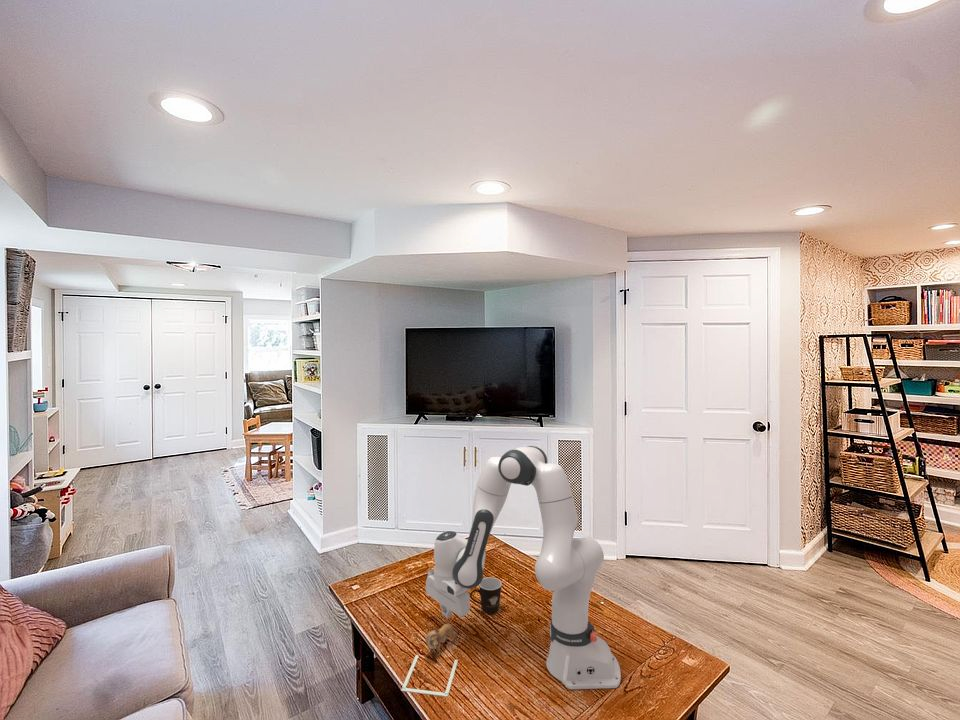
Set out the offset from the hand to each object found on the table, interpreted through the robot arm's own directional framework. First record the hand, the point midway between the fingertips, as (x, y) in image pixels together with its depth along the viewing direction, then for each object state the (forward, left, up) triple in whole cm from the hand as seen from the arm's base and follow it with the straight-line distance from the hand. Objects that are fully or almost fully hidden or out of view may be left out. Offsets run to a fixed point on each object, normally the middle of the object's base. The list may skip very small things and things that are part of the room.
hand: (446, 616), depth 159 cm
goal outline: (0, +22, -5) cm, 22 cm away
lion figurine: (-1, +11, -5) cm, 12 cm away
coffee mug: (-12, -13, -5) cm, 19 cm away
